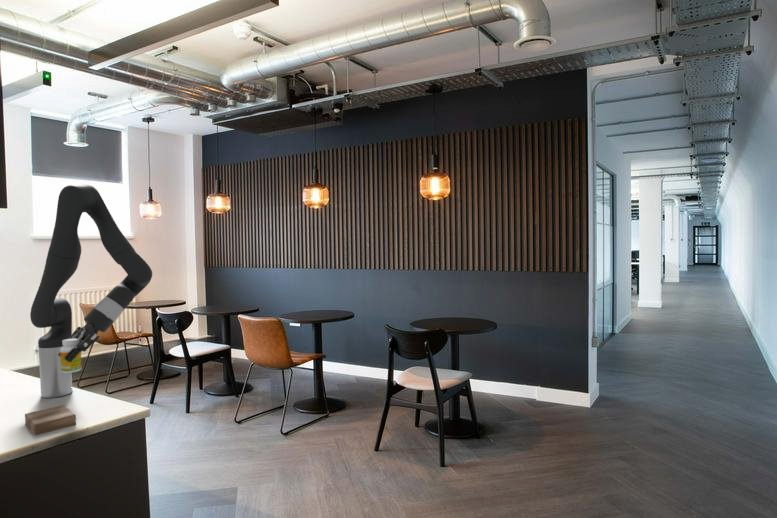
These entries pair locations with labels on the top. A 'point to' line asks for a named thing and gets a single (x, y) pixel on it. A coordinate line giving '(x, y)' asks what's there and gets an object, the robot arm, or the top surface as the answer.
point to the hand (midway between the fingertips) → (64, 358)
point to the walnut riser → (50, 419)
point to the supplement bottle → (75, 363)
